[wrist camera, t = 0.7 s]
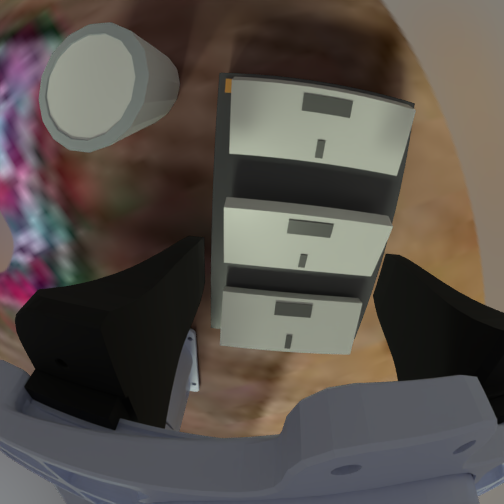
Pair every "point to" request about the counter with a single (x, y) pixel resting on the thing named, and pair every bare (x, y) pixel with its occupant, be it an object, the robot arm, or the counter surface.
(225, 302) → the pale rectangular block
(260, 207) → the filing cabinet drawer
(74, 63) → the shot glass
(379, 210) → the filing cabinet
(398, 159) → the cabinet drawer
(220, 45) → the counter surface
